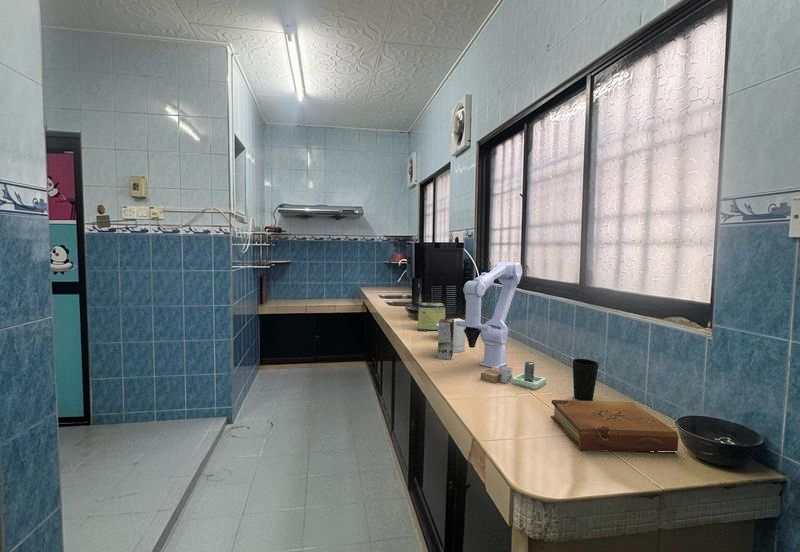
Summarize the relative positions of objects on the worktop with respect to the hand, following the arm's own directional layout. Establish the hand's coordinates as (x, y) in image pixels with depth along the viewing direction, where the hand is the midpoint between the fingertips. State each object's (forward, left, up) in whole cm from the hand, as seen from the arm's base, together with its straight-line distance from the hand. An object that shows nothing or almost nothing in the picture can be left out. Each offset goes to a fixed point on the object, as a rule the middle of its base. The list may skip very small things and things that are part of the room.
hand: (471, 347), depth 150 cm
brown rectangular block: (0, +10, -10) cm, 14 cm away
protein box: (-52, -60, -10) cm, 80 cm away
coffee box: (-11, -20, -10) cm, 25 cm away
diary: (+18, +53, -11) cm, 57 cm away
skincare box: (-22, -23, -10) cm, 33 cm away
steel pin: (-4, +22, -9) cm, 24 cm away
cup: (-4, +40, -10) cm, 41 cm away
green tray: (-4, +22, -10) cm, 24 cm away
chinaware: (-40, -38, -10) cm, 56 cm away
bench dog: (0, +15, -10) cm, 18 cm away
